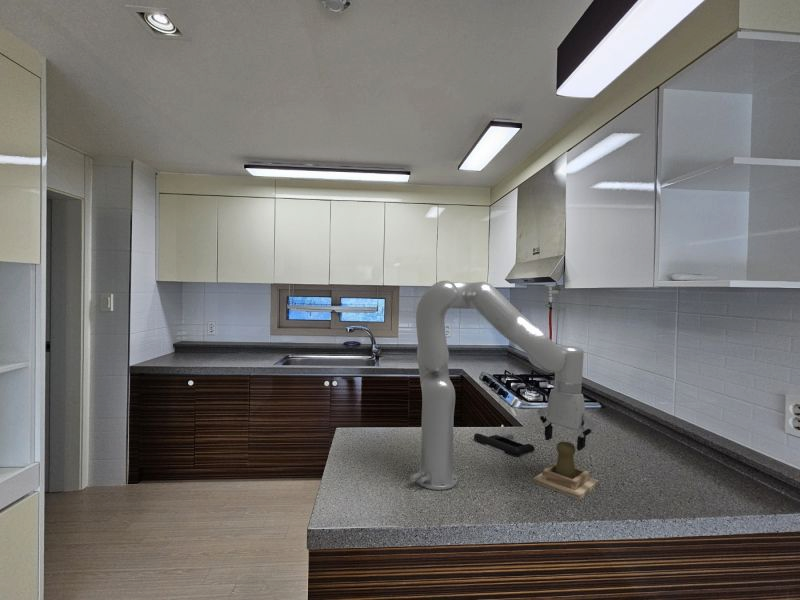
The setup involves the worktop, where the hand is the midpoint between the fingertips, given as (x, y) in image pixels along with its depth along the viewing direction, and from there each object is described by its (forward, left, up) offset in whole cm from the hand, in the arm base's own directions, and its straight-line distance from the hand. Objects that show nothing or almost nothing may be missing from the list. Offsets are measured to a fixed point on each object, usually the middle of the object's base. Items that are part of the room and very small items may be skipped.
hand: (563, 444), depth 121 cm
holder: (+1, -1, -12) cm, 12 cm away
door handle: (+14, +28, -12) cm, 34 cm away
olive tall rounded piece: (0, 0, -11) cm, 11 cm away
